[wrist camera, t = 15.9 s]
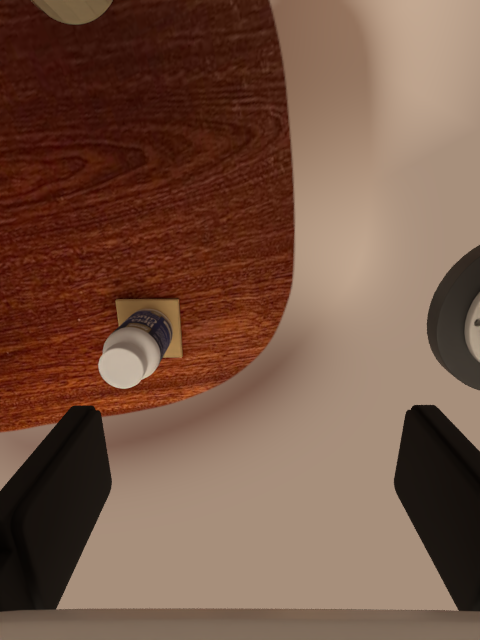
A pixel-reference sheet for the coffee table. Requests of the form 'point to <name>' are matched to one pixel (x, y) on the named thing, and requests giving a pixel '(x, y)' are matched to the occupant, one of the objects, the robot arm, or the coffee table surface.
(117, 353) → the pill bottle
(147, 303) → the mat
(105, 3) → the bucket
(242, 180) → the coffee table surface
